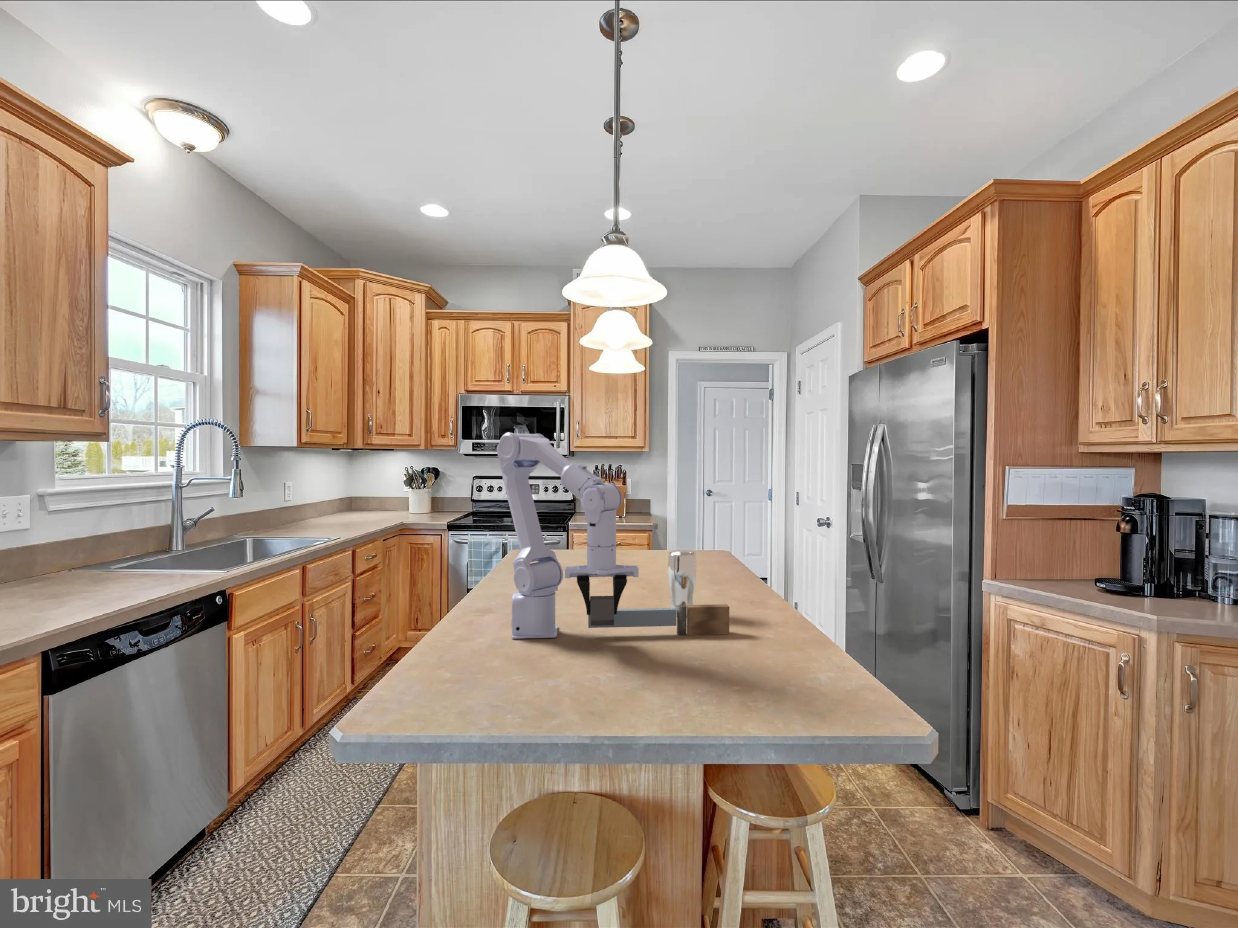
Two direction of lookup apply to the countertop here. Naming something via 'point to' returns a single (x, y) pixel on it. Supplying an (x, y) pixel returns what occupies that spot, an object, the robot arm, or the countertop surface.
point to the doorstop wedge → (601, 610)
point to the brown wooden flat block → (703, 619)
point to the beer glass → (681, 577)
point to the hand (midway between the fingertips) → (601, 613)
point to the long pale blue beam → (642, 618)
